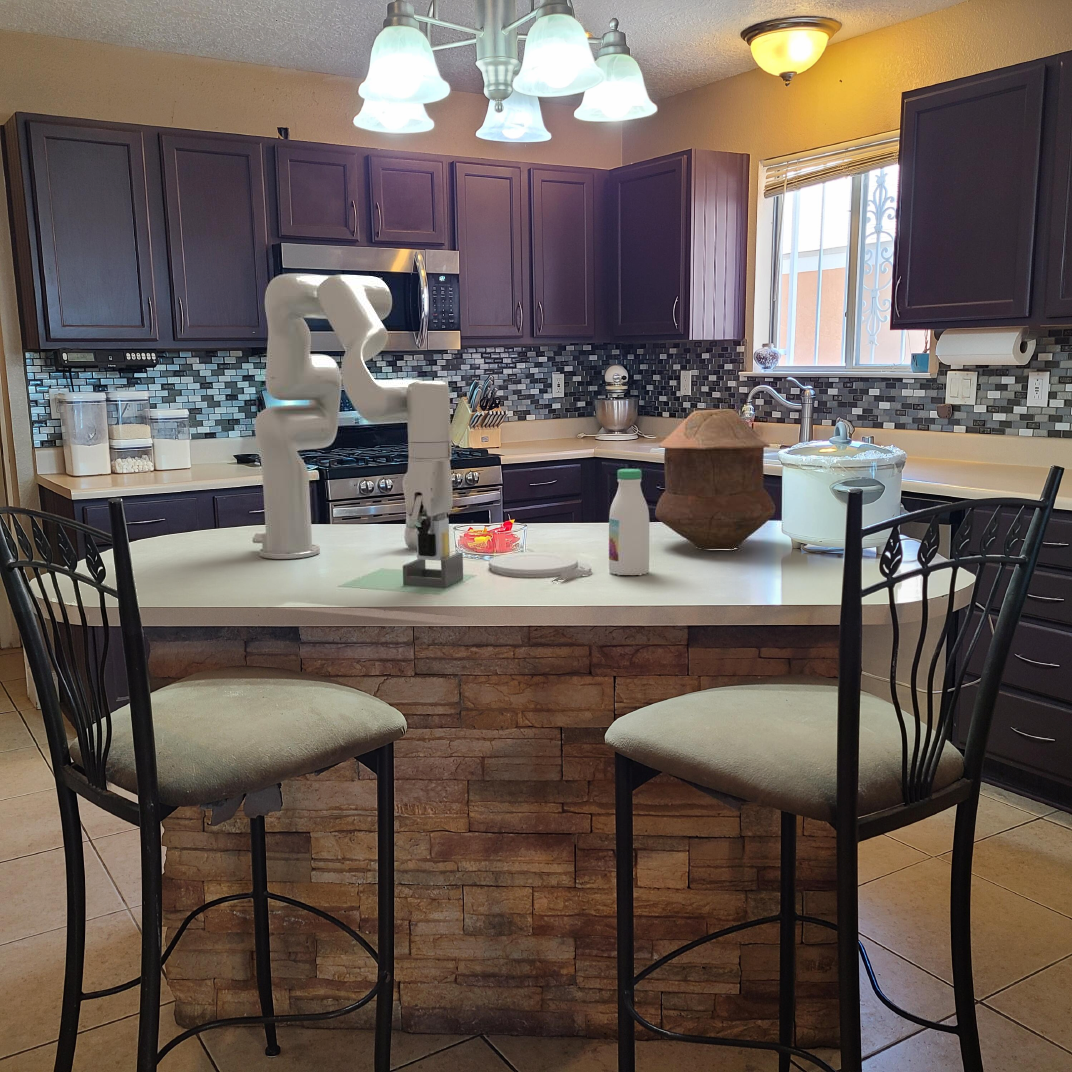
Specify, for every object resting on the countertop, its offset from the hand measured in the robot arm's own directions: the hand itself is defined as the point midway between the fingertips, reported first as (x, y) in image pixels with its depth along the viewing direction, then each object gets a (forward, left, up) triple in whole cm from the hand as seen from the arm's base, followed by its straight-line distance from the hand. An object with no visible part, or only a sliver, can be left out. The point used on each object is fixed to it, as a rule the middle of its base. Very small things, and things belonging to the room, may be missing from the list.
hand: (433, 552), depth 178 cm
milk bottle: (+30, +24, -7) cm, 39 cm away
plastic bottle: (-20, +34, -7) cm, 40 cm away
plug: (0, 0, -1) cm, 1 cm away
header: (0, 0, -6) cm, 6 cm away
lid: (+14, +18, -7) cm, 24 cm away
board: (-5, 0, -7) cm, 9 cm away
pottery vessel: (+41, +54, -7) cm, 68 cm away
